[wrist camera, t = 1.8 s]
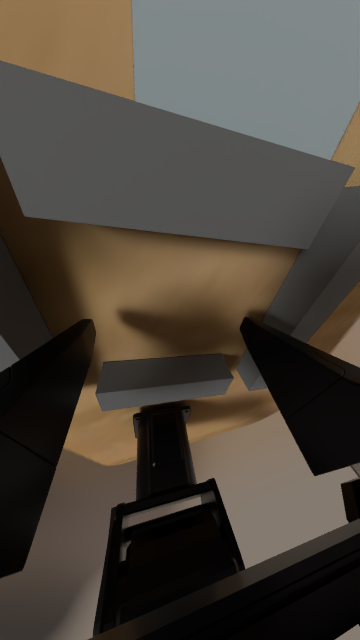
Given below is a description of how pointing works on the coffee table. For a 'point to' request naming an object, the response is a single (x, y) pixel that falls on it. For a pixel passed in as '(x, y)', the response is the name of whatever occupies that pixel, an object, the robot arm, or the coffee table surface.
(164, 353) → the coffee table surface
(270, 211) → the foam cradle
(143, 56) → the felt pad
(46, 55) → the coffee table surface
